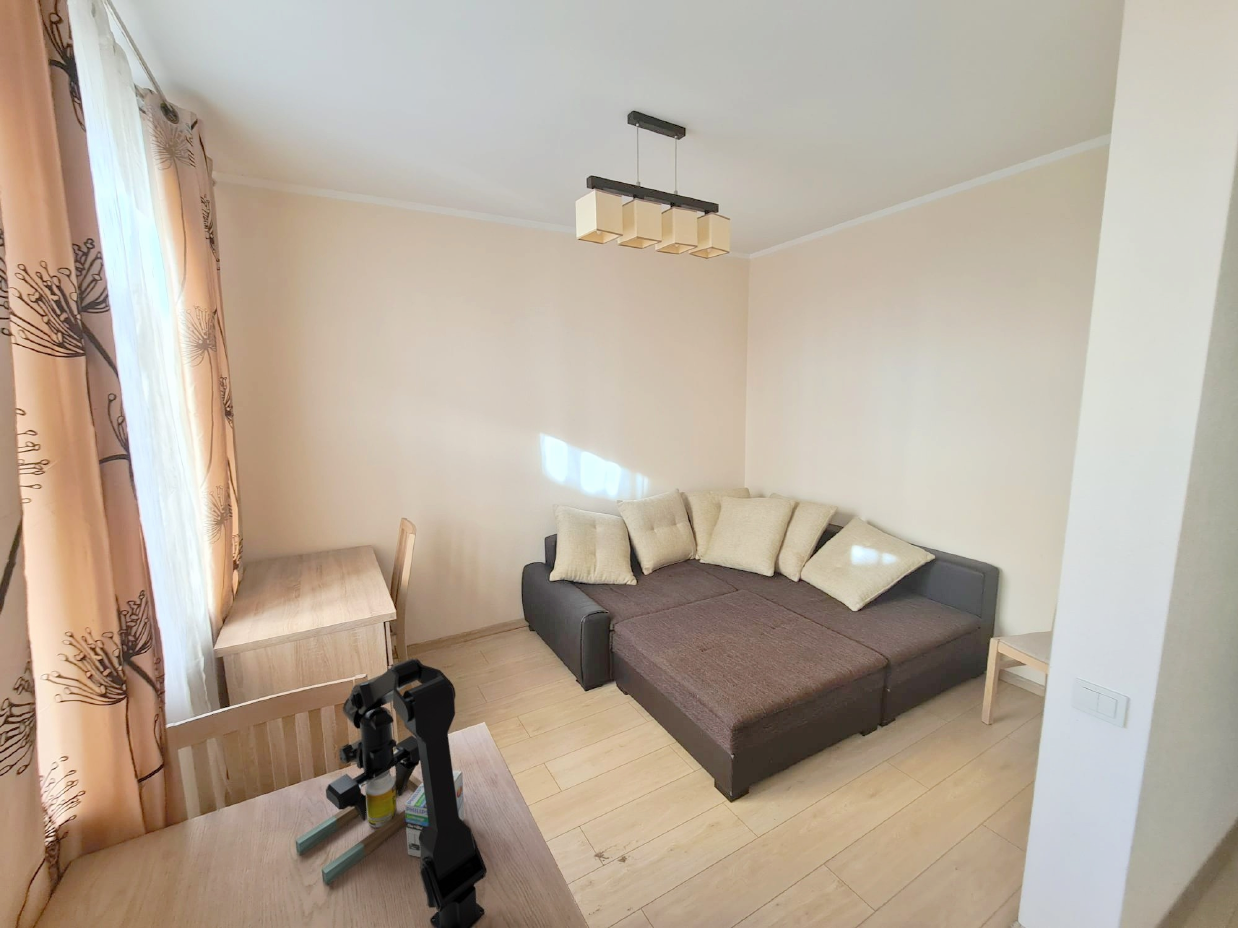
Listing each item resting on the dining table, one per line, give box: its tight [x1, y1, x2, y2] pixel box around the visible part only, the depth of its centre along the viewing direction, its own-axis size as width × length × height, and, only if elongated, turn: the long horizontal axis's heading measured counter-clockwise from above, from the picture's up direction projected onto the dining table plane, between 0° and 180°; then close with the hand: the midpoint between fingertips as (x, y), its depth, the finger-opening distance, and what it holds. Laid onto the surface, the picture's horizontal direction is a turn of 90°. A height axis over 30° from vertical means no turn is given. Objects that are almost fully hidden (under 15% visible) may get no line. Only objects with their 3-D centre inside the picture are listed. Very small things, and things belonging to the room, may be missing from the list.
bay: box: [295, 773, 423, 886], centre depth 105 cm, size 12×23×2 cm, turn 144°
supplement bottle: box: [364, 769, 398, 828], centre depth 107 cm, size 6×6×10 cm
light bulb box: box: [404, 769, 465, 858], centre depth 102 cm, size 11×7×11 cm, turn 168°
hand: (381, 806), depth 107 cm, fingers closed on supplement bottle, 7 cm apart
